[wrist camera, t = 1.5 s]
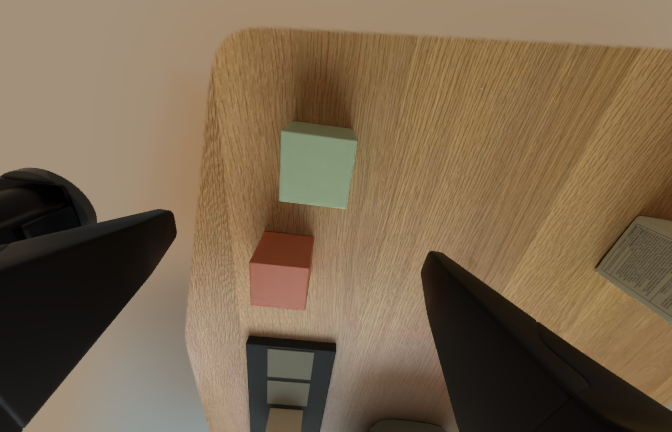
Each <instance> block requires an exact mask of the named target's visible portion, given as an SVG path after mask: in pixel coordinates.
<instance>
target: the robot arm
mask: <svg viewBox="0 0 672 432" xmlns="http://www.w3.org/2000/svg"><path fill="white" fill-rule="evenodd" d="M176 234H177V231H176V224H175V219H174V214H173V213H172V212H171V211H169V210H162V209H157V210H153V211H148V212H143V213H139V214H135V215H130V216H126V217H122V218H118V219H113V220H109V221H104V222H100V223H96V224H91V225H87V226H82V225H81V223H80V220H79V217H78V215H77V212H76V210H75V207H74V205H73V202H72V199H71V197H70V194H69V192H68V189H67V187H65V186H64V185H63V184H59V183H50V182H42V181H33V180H25V179H16V178H8V177H0V432H22V430H23V429H22V428H25V427H26V425H27V424H28V423H29V422H30V421H31V419H32V418H33V417H34V416H35V415H36V413H37V412H38V411H39V410H40V409H41V407H42V406H43V405H44V404H45V402H46V401H47V400H48V399H49V398H50V396H51V395H52V394H53V393H54V392H55V390H56V389H57V388H58V387H59V386H60V384H61V383H62V382H63V381H64V379H65V378H66V377H67V376H68V375H69V373H70V372H71V371H72V370H73V369H74V367H75V366H76V365H77V364H78V362H79V361H80V360H81V359H82V357H83V356H84V355H85V354H86V353H87V352H88V350H89V349H90V348H91V347H92V346H93V344H94V343H95V342H96V341H97V339H98V338H99V337H100V336H101V334H102V333H103V332H104V331H105V330H106V328H107V327H108V326H109V325H110V324H111V323H112V321H113V320H114V319H115V318H116V316H117V315H118V314H119V313H120V312H121V310H122V309H123V308H124V307H125V306H126V304H127V303H128V302H129V301H130V300H131V298H132V297H133V296H134V295H135V293H136V292H137V291H138V290H139V289H140V287H141V286H142V285H143V284H144V283H145V281H146V280H147V279H148V277H149V276H150V275H151V274H152V272H153V271H154V269H155V268H156V266H157V265H158V264H159V262H160V261H161V259H162V258H163V256H164V255H165V253H166V251H167V250H168V248H169V247H170V245H171V244H172V242H173V241H174V239H175V238H176ZM421 278H422V285H423V291H424V298H425V304H426V310H427V315H428V319H429V323H430V327H431V331H432V334H433V338H434V342H435V345H436V349H437V353H438V356H439V360H440V364H441V367H442V371H443V375H444V379H445V382H446V386H447V390H448V393H449V397H450V401H451V404H452V408H453V412H454V415H455V419H456V423H457V426H458V430H459V432H672V411H670V410H669V409H667V408H666V407H664V406H663V405H661V404H660V403H658V402H657V401H655V400H654V399H652V398H650V397H649V396H647V395H646V394H644V393H643V392H641V391H640V390H638V389H637V388H635V387H634V386H632V385H631V384H629V383H628V382H626V381H625V380H623V379H622V378H620V377H618V376H617V375H615V374H614V373H612V372H611V371H609V370H608V369H606V368H605V367H603V366H602V365H600V364H599V363H597V362H596V361H594V360H593V359H591V358H590V357H588V356H587V355H585V354H584V353H582V352H581V351H579V350H578V349H576V348H575V347H573V346H572V345H570V344H569V343H568V342H566V341H565V340H563V339H562V338H560V337H559V336H558V335H556V334H555V333H553V332H552V331H550V330H549V329H548V328H546V327H545V326H544V325H542V324H541V323H539V322H536V320H535V319H534V318H532V317H531V316H530V315H528V314H527V313H525V312H524V311H523V310H521V309H520V308H518V307H517V306H516V305H514V304H513V303H511V302H510V301H509V300H507V299H506V298H504V297H503V296H502V295H500V294H499V293H498V292H496V291H495V290H493V289H492V288H491V287H489V286H488V285H486V284H485V283H484V282H482V281H481V280H479V279H478V278H477V277H475V276H474V275H472V274H471V273H470V272H468V271H467V270H465V269H464V268H463V267H461V266H460V265H459V264H457V263H456V262H454V261H453V260H452V259H450V258H449V257H447V256H446V255H445V254H443V253H441V252H436V251H430V252H429V253H428V255H427V257H426V259H425V262H424V264H423V267H422V270H421Z"/></svg>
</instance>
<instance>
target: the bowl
mask: <svg viewBox="0 0 672 432" xmlns="http://www.w3.org/2000/svg"><path fill="white" fill-rule="evenodd" d="M369 432H447V431H445V430H444V429H443V428H442V427H439V426H436V425H433V424H428V423H421V422H413V421H405V420H397V419H382V420H380V421H379V422H378V423H376V424H375V425H374V426H373V427H372V429H371V430H370V431H369Z"/></svg>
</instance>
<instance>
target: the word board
mask: <svg viewBox="0 0 672 432" xmlns="http://www.w3.org/2000/svg"><path fill="white" fill-rule="evenodd" d="M246 351H247V370H248V389H249V408H250V427H251V432H320V427H321V422H322V417H323V413H324V408H325V403H326V398H327V393H328V388H329V383H330V378H331V373H332V368H333V363H334V359H335V354H336V344H332V343H320V342H309V341H298V340H287V339H276V338H264V337H253V336H249V337H248V340H247V343H246Z"/></svg>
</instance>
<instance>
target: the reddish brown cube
mask: <svg viewBox="0 0 672 432" xmlns="http://www.w3.org/2000/svg"><path fill="white" fill-rule="evenodd" d="M313 244H314V237H310V236H302V235H293V234H284V233H275V232H266V231H265V232H264V234H263V236H262V238H261V240H260V242H259V244H258V246H257V248H256V250H255V252H254V254H253V256H252V258H251V260H250V262H249V266H250V294H251V305H254V306H265V307H275V308H285V309H296V310H305V308H306V301H307V294H308V287H309V280H310V273H311V263H312V254H313Z"/></svg>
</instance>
